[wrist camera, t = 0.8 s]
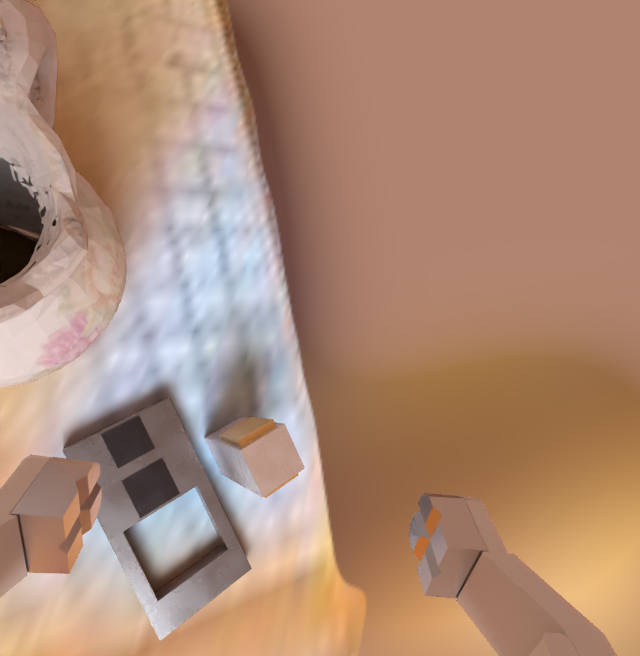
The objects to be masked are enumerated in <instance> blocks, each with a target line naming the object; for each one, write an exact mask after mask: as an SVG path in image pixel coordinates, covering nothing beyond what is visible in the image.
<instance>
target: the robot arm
mask: <svg viewBox="0 0 640 656" xmlns="http://www.w3.org/2000/svg"><path fill="white" fill-rule="evenodd" d="M100 474H101V472H100V464H99V463H97V462H90V461H82V460H74V459H65V458H57V457H46V456H37V455H30V456H28V457H27V458H25V459H24V460H23V461H22V462H21V463H20V465H19V466H18V467H17V468H16V470H15V471H14V472H13V474H12V475H11V476H10V477H9V479H8V480H7V481H6V482H5V484H4V485H3V486H2V488H1V489H0V598H1V597H2V596H3V595H4V594H5V593H6V592H8V591H9V590H10V589H11V588H12V587H14V586H15V585H16V584H17V583H18V582H20V581H21V580H22V579H23V578H24V577H26V576H27V572H34V573H64V574H69V573H70V571H71V569H72V567H73V565H74V563H75V561H76V559H77V557H78V555H79V553H80V551H81V549H82V547H83V541H82V535H83V534H85V533H86V532H87V531H89V530H90V529H91V528H92V526H93V524H94V522H95V520H96V518H97V514H98V511H99V508H100V504H101V496H102V490H101V486H100V485H99V484H98V483H97V480H98V478H99V476H100ZM418 504H419V507H420V511H418V512H417V513H415V514H414V515H413V518H412V520H411V523H410V532H409V537H410V544H411V548H412V552H413V554H414V555H415V556H416V557H417V558H418V559H419V560H420V561H421V562H420V564H419V567H418V569H417V571H418V574H419V578H420V581H421V585H422V588H423V592H424V595H426V596H436V597H446V598H457V600H456V601H457V602H458V603H459V604H460V606H461V607H462V608H463V609H464V611H465V612H466V613H467V615H468V616H469V617H470V619H471V620H472V621H473V623H474V624H475V625H476V626H477V628H478V629H479V630H480V632H481V633H482V634H483V635H484V637H485V638H486V639H487V641H488V642H489V643H490V645H491V646H492V647H493V648H494V650H495V651H496V652H497V654H498V655H499V656H617V655H616V653H615V652H614V650H613V648H612V647H611V645H610V643H609V642H608V640H607V638H606V637H605V635H604V634H603V633H602V632H601V631H600V630H599V629H598V628H597V627H596V626H594V625H593V624H592V623H591V622H590V621H589V620H587V618H585V617H584V616H583V615H582V614H581V613H580V612H579V611H577V610H576V609H575V608H574V607H573V606H572V605H571V604H570V603H568V602H567V601H566V600H565V599H564V598H563V597H562V596H561V595H559V594H558V593H557V592H556V591H555V590H554V589H553V588H552V587H550V586H549V585H548V584H547V583H546V582H545V581H544V580H543V579H541V578H540V577H539V576H538V575H537V574H536V573H535V572H534V571H532V570H531V569H530V568H529V567H528V566H527V565H526V564H524V563H523V562H522V561H521V560H520V559H519V558H518V557H517V556H516V555H514V554H510V553H508V552H507V550H506V548H505V546H504V544H503V542H502V540H501V538H500V536H499V534H498V532H497V529H496V527H495V526H494V524H493V521H492V519H491V517H490V515H489V513H488V511H487V509H486V507H485V506H484V503H483V501H482V500H481V499H479V498H475V497H464V496H460V497H459V496H453V495H441V494H429V493H424V494H423V495H422V496H421V498H420V500H419V503H418Z"/></svg>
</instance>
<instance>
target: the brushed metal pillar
mask: <svg viewBox="0 0 640 656" xmlns="http://www.w3.org/2000/svg"><path fill="white" fill-rule="evenodd" d="M205 440H206V442H207V445H208V447H209V449H210V451H211V453H212V455H213V457H214V459H215V461H216V463H217V465H218V468H219V470H220V472H221V474H222V475H224V476H226V477H227V478H229V479H231V480H233V481H234V482H236V483H238V484H240V485H242V486H243V487H245V488H247V489H249V490H250V491H252V492H254V493H256V494H257V495H259V496H261V497H265V498H267V497H268V496H269V495H271V494H272V493H274V492H275V491H276V490H278V489H279V488H281V487H282V486H284V485H285V484H286V483H288V482H289V481H291V480H292V479H294V478H295V477H296V476H298V473H299V472H300V471H301V470H303V469H304V465H303V463H302V461H301V459H300V457H299V454H298V452H297V450H296V448H295V446H294V444H293V441H292V439H291V437H290V435H289V433H288V430H287V428H286V426H285V424H283V423H277V422H274V421H273V419H265V418H258V417H248V418H242V417H240V418H238V419H236V420H234V421H233V422H231V423H229V424H227V425H226V426H224V427H222V428H220V429H219V430H217V431H215V432H213V433H212V434H210V435H208V436H206V437H205Z"/></svg>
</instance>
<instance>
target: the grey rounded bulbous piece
mask: <svg viewBox="0 0 640 656" xmlns="http://www.w3.org/2000/svg"><path fill="white" fill-rule="evenodd" d="M57 67H58V55H57V41H56V34H55V32H54V31H53V29H52V27H51V25H50V24H49V22H48V20H47V19H46V17H45V16H44V14H43V12H42V11H41V9H40V8H38V7H37V6H35V5H33V4H31V3H29V2H28V1H27V0H0V228H3V229H6V230H10V231H14V232H17V233H19V234H21V235H23V236H25V237H27V238H29V239H30V240H33V241H34V242H37V245H36V247H35V249H34V253H33V255H32V257H31V259H30V261H29V263H28V264H27V265H26V267H25V268H24V269H23V270H22V271H21V272H20V273H18V274H16V275H15V276H13V277H11V278H10V279H8V280H6V281H5V282H3V283H1V284H0V388H1V387H8V386H14V385H21V384H25V383H28V382H32V381H35V380H37V379H39V378H41V377H43V376H45V375H47V374H50V373H52V372H54V371H56V370H59V369H61V368H62V367H64V366H65V365H67V364H69V363H70V362H72V361H73V360H75V359H76V358H77V357H79V356H80V355H81V354H82V353H83V352H84V351H86V350H87V349H88V348H89V347H90V346H91V345H92V344H93V343H94V342H95V341H96V340H97V339H98V337H99V336H100V335H101V334H102V333H103V331H104V330H105V329H106V327H107V326H108V324H109V322H110V321H111V319H112V318H113V316H114V314H115V313H116V311H117V309H118V306H119V304H120V301H121V298H122V295H123V291H124V287H125V283H126V259H125V251H124V244H123V241H122V238H121V236H120V233H119V230H118V227H117V225H116V222H115V219H114V216H113V213H112V211H111V210H110V209H109V208H108V207H107V206H106V205H105V203H104V202H103V201H102V200H101V199H100V197H99V196H98V195H97V193H96V192H95V191H94V189H93V188H92V186H91V185H90V183H89V182H88V181H87V180H86V179H85V178H84V177H83V176H82V175H81V174H79V173H78V172H77V171H76V170H75V169H74V167H73V164H72V162H71V160H70V158H69V156H68V154H67V152H66V150H65V148H64V146H63V143H62V141H61V139H60V138H59V137H58V135H57V134H56V133H55V132H54V131H53V130H52V129H53V125H54V121H55V113H56V83H57ZM39 245H40V247H39ZM38 247H39V249H38V250H37V248H38ZM35 261H36V263H35V264H34V265H33V266H32V267H31V265H32V264H33V263H34V262H35ZM30 267H31V268H30ZM29 268H30V269H29ZM27 270H28V271H27ZM26 271H27V272H26ZM25 272H26V273H25ZM24 273H25V274H24Z"/></svg>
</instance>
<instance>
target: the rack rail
mask: <svg viewBox="0 0 640 656" xmlns="http://www.w3.org/2000/svg"><path fill="white" fill-rule="evenodd" d="M63 452H64V454H65V456H66V458H67V459H74V460H82V461H90V462H97V463H99V464H100V472H101V474H100V476H99V478H98V480H97V483H98V484H99V485H100V486H101V490H102V496H101V504H100V508H99V511H98V514H97V519H98V521H99V523H100V525H101V526H102V528H103V530H104V532H105V534H106V536H107V538H108V540H109V542H110V544H111V546H112V548H113V550H114V552H115V554H116V556H117V558H118V560H119V562H120V564H121V565H122V567H123V569H124V571H125V573H126V575H127V577H128V579H129V581H130V583H131V585H132V587H133V589H134V591H135V593H136V595H137V597H138V599H139V601H140V603H141V604H142V606H143V608H144V610H145V612H146V614H147V616H148V618H149V620H150V622H151V624H152V626H153V628H154V630H155V632H156V634H157V636H158V638H159V640H162V639H163V638H164V637H165V636H167V635H168V634H169V633H171V632H172V631H173V630H174V629H176V628H177V627H178V626H179V625H181V624H182V623H183V622H185V621H186V620H187V619H188V618H190V617H191V616H192V615H193V614H195V613H196V612H197V611H198V610H200V609H201V608H202V607H204V606H205V605H206V604H207V603H209V602H210V601H211V600H212V599H214V598H215V597H216V596H218V595H219V594H220V593H221V592H223V591H224V590H225V589H226V588H228V587H229V586H230V585H231V584H233V583H234V582H235V581H237V580H238V579H239V578H240V577H242V576H243V575H244V574H245V573H247V572H248V571H249V570H251V569H252V568H251V566H250V564H249V562H248V560H247V558H246V556H245V554H244V552H243V550H242V548H241V545H240V543H239V541H238V539H237V537H236V535H235V533H234V531H233V529H232V527H231V525H230V523H229V521H228V518H227V516H226V514H225V512H224V510H223V508H222V506H221V504H220V502H219V500H218V498H217V496H216V494H215V492H214V489H213V487H212V485H211V483H210V481H209V479H208V477H207V475H206V473H205V471H204V469H203V467H202V465H201V462H200V460H199V458H198V456H197V454H196V452H195V450H194V448H193V446H192V444H191V442H190V440H189V438H188V436H187V433H186V431H185V429H184V427H183V425H182V423H181V421H180V419H179V417H178V415H177V413H176V411H175V409H174V406H173V404H172V402H171V400H170V398H164V399H162V400H160V401H158V402H156V403H154V404H152V405H150V406H148V407H146V408H144V409H142V410H140V411H138V412H136V413H134V414H132V415H130V416H128V417H126V418H124V419H122V420H120V421H118V422H116V423H114V424H112V425H110V426H108V427H105V428H103V429H101V430H99V431H97V432H95V433H93V434H91V435H89V436H87V437H85V438H83V439H81V440H79V441H77V442H75V443H73V444H71V445H69V446H67V447H65V448H63ZM194 487H195V488H196V490H197V492H198V494H199V496H200V498H201V500H202V502H203V505H204V507H205V509H206V511H207V513H208V515H209V517H210V519H211V521H212V523H213V525H214V527H215V529H216V531H217V533H218V535H219V537H220V540H221V542H222V544H221V545H220V546H219V547H217V548H216V549H214V550H213V551H212V552H210V553H209V554H208V555H206V556H205V557H203V558H202V559H201V560H199V561H198V562H196V563H195V564H194V565H192V566H191V567H190V568H188V569H187V570H185V571H184V572H183V573H181V574H180V575H179V576H177V577H176V578H174V579H173V580H172V581H170V582H169V583H167V584H166V585H165V586H163V587H162V588H161V589H159V590H158V591H156V592H155V593H154V591H153V589H152V587H151V585H150V583H149V581H148V579H147V577H146V575H145V573H144V571H143V569H142V567H141V565H140V563H139V561H138V559H137V557H136V555H135V553H134V551H133V549H132V547H131V545H130V543H129V541H128V539H127V538H126V536H125V534H124V531H125V530H127V529H128V528H130V527H132V526H133V525H135V524H136V523H138V522H140V521H141V520H143V519H144V518H146V517H148V516H149V515H151V514H152V513H154V512H156V511H157V510H159V509H160V508H162V507H164V506H165V505H167V504H168V503H170V502H172V501H173V500H175V499H176V498H178V497H180V496H181V495H183V494H184V493H186V492H188V491H189V490H191V489H192V488H194Z"/></svg>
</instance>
